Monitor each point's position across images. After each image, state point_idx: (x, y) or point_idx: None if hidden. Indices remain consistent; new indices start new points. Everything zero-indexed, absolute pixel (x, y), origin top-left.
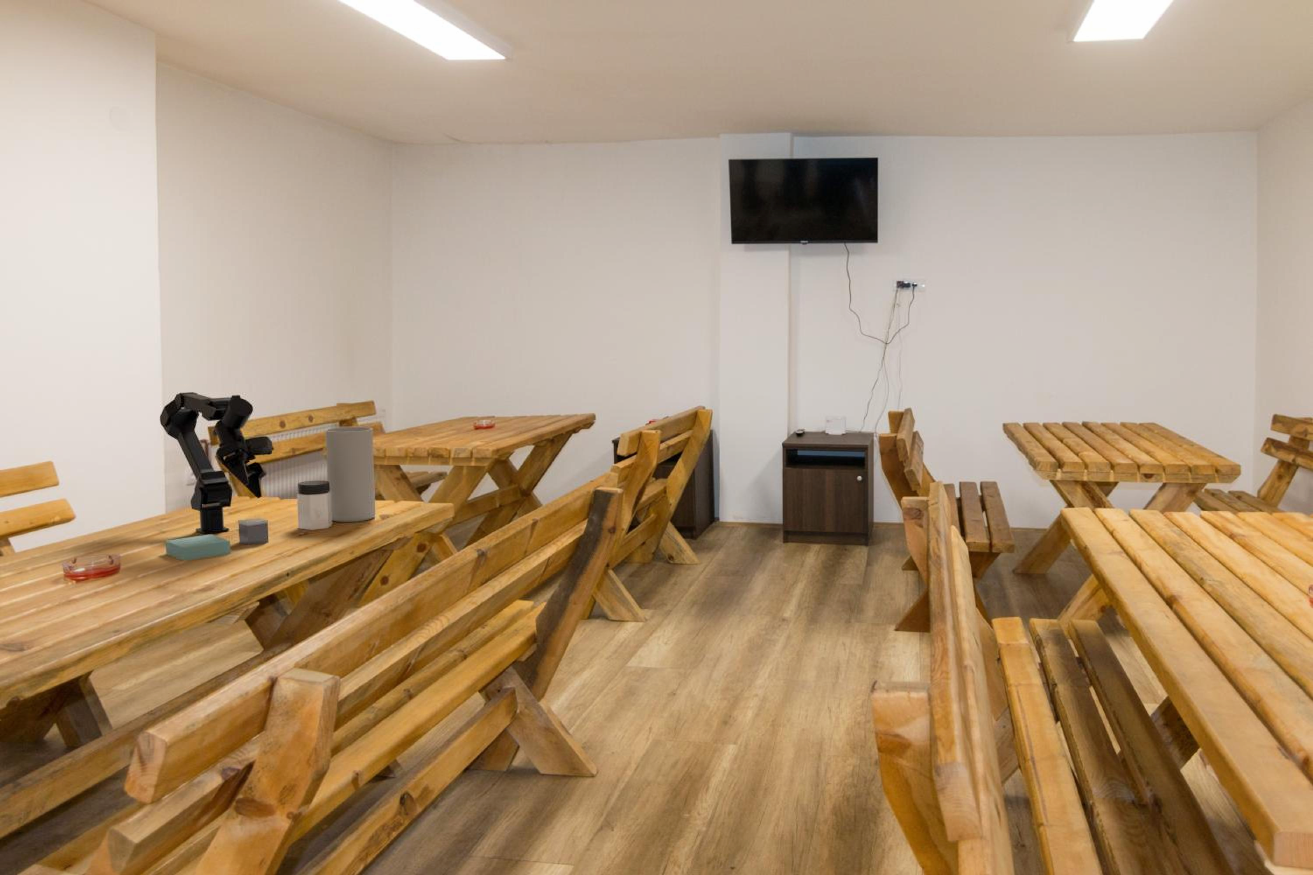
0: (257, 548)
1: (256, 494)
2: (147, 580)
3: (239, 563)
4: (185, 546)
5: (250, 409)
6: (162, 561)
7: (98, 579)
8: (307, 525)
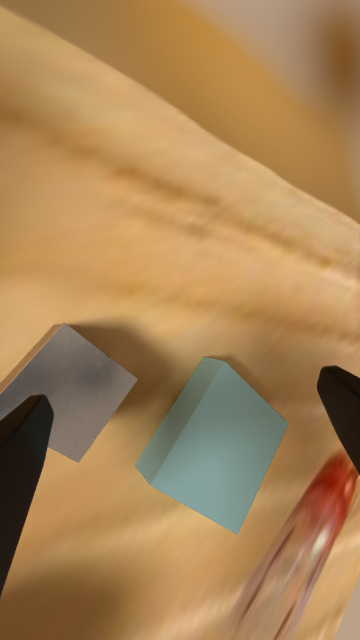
0: (147, 316)
1: (41, 438)
2: None
3: (271, 288)
4: (278, 428)
5: None
6: None
7: None
8: None
